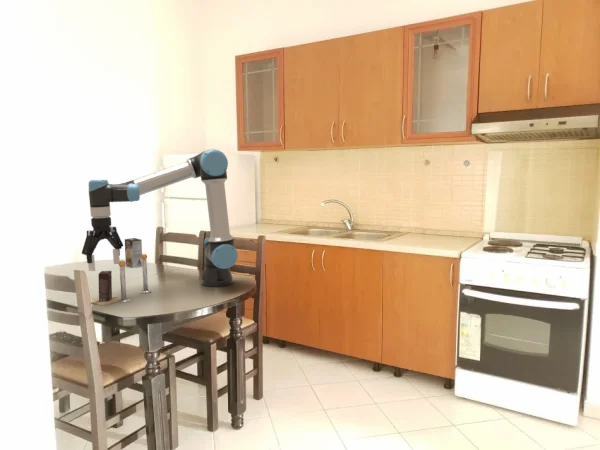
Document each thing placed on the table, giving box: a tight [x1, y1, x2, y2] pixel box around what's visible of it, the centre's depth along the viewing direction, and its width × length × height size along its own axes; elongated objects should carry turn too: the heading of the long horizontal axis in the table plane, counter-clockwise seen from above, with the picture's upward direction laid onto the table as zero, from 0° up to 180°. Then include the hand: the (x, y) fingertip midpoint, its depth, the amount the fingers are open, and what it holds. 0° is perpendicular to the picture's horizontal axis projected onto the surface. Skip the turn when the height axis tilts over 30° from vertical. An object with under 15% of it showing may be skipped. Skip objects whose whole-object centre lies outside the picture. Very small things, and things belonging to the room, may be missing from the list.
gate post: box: [139, 253, 153, 294], centre depth 199 cm, size 5×5×18 cm
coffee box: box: [124, 237, 143, 269], centre depth 257 cm, size 9×6×16 cm
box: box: [98, 270, 113, 302], centre depth 184 cm, size 6×4×12 cm
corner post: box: [117, 260, 131, 303], centre depth 186 cm, size 5×5×18 cm
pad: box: [90, 296, 121, 307], centre depth 185 cm, size 9×10×1 cm
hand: (104, 267), depth 183 cm, fingers open, 13 cm apart
